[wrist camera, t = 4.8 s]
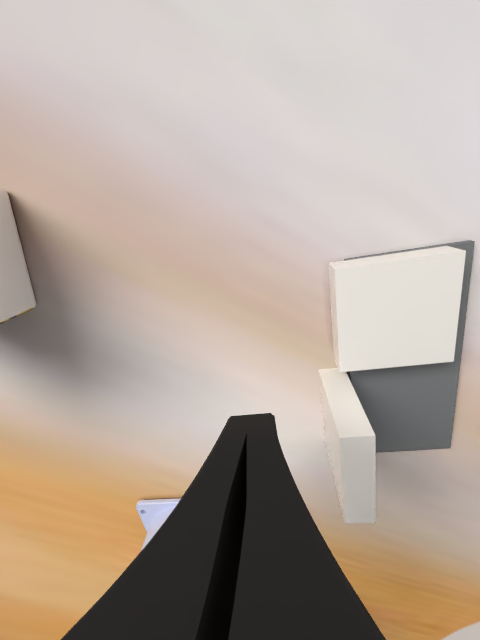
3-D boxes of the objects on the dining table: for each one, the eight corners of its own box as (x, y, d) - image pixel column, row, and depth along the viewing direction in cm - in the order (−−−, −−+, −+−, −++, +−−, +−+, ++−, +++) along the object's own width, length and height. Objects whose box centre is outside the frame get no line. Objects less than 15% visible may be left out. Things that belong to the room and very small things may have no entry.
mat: (447, 443, 21) (450, 448, 20) (352, 449, 21) (353, 453, 21) (469, 240, 15) (474, 241, 15) (344, 259, 16) (345, 260, 16)
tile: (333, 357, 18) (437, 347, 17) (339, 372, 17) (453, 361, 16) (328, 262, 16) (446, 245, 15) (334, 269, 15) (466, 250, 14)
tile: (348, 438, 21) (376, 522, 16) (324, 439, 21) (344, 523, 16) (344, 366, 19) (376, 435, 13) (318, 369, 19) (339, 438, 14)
